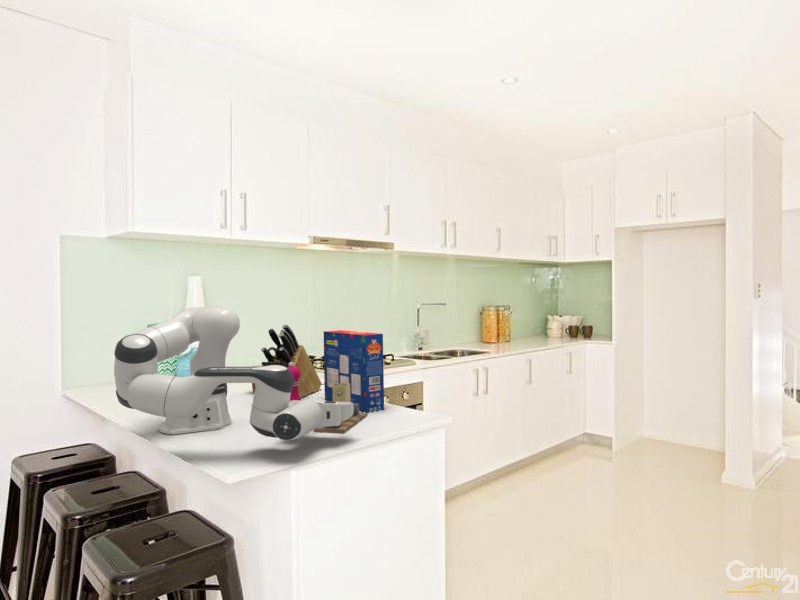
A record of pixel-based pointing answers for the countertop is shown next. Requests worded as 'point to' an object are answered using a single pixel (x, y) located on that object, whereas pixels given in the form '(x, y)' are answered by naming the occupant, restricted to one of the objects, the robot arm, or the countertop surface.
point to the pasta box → (355, 367)
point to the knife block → (292, 359)
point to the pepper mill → (296, 375)
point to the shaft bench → (345, 425)
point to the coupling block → (341, 393)
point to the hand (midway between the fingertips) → (328, 403)
